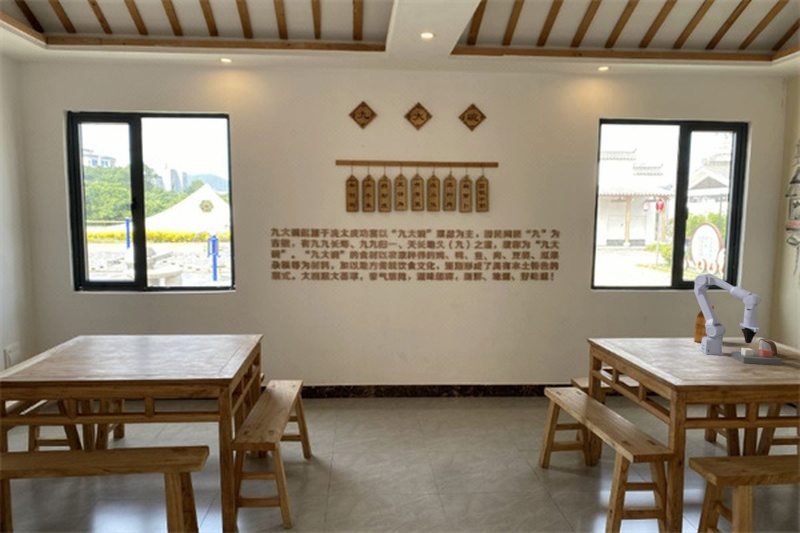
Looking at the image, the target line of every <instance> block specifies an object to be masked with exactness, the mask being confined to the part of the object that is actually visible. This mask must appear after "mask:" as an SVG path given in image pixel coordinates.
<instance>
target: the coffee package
mask: <svg viewBox="0 0 800 533" xmlns="http://www.w3.org/2000/svg"><path fill="white" fill-rule="evenodd" d="M712 308H713V310H714V309H715V306H714V305H712ZM705 323H706V320H705V317H704V315H703V312H702V310H701V309H700V311H699V312H698V313H697V316H696V318H695V326H694V339H693V340H694V342H696V343H701V342H702V338H703V337H707V336H708V335H707V334H706V327H705Z"/></svg>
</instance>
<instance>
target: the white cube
mask: <svg viewBox="0 0 800 533" xmlns="http://www.w3.org/2000/svg"><path fill="white" fill-rule="evenodd" d="M740 352H741V354H742V355H744V356H753V354H754V353H755V350H754V349H752V348H749V347H747V348H746V347H741V349H740Z"/></svg>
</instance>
